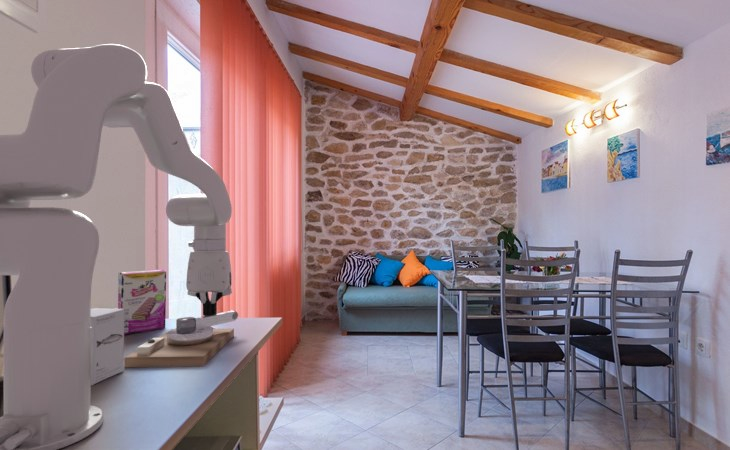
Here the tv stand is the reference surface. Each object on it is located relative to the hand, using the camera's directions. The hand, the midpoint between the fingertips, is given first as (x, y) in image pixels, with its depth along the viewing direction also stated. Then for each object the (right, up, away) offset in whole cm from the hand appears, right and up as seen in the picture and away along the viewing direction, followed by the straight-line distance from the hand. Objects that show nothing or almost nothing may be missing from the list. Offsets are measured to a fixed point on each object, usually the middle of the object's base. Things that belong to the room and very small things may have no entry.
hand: (209, 318), depth 100 cm
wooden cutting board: (-2, -6, -8) cm, 10 cm away
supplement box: (-13, -6, -24) cm, 28 cm away
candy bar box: (-22, -6, +9) cm, 25 cm away
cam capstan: (+1, -3, -4) cm, 5 cm away
